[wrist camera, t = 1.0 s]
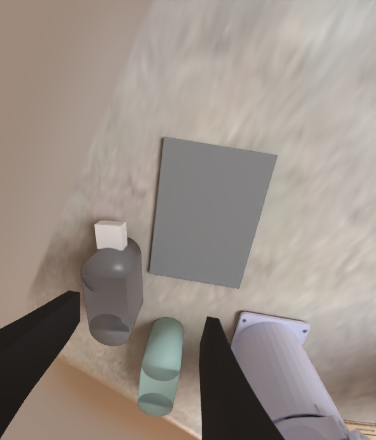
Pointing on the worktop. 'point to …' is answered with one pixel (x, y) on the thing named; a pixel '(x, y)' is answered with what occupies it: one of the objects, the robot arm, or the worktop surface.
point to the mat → (208, 211)
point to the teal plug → (161, 367)
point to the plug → (112, 284)
